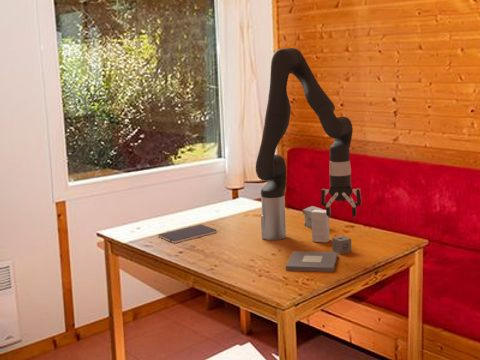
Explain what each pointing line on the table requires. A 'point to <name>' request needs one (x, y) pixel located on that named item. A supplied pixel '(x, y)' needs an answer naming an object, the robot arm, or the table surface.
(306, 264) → the plate
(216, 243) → the table surface
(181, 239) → the notebook
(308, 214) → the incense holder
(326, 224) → the skincare box
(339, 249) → the dice cube
